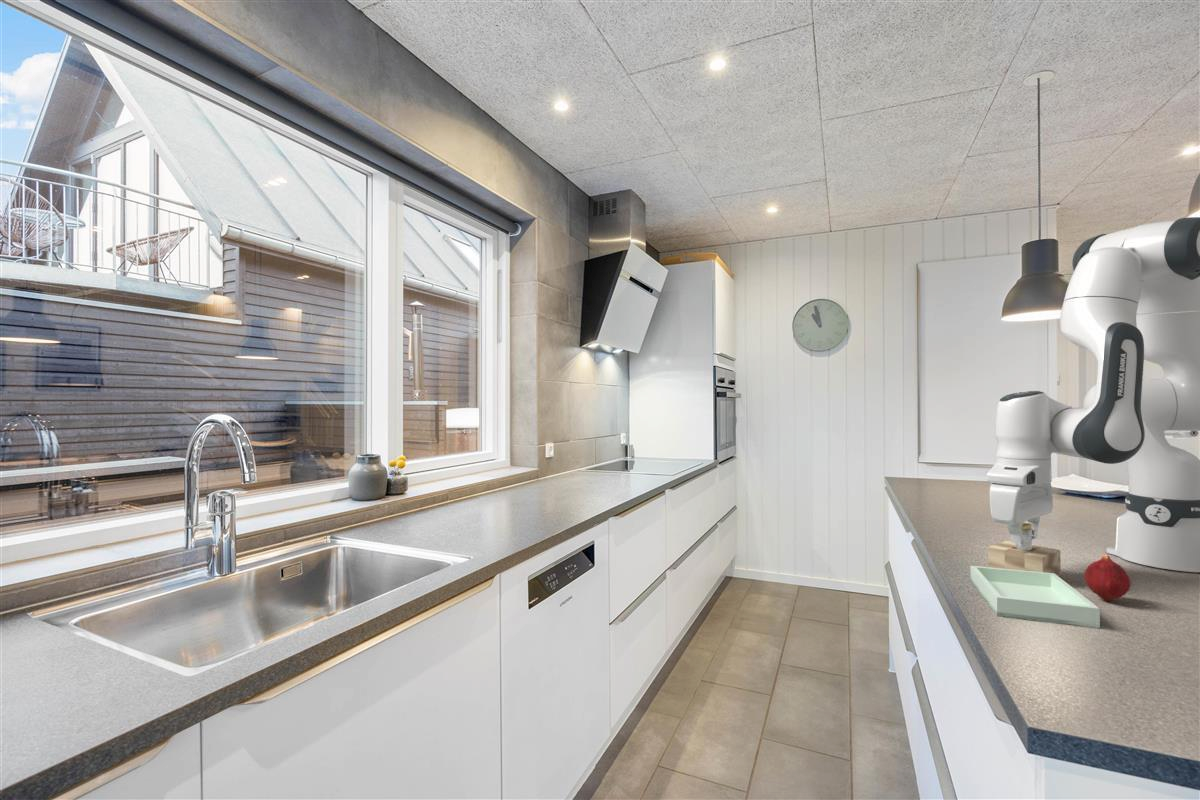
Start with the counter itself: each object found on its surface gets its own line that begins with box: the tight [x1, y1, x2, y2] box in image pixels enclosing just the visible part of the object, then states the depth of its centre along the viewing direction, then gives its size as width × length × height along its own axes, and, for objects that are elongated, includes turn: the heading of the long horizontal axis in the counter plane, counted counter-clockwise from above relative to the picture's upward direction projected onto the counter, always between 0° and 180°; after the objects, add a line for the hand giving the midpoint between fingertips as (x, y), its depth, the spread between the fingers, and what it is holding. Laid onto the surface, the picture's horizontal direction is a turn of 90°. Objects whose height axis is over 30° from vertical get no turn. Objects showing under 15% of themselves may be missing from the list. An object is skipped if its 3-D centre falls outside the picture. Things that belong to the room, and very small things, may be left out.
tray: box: [970, 565, 1101, 629], centre depth 93 cm, size 18×13×3 cm
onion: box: [1083, 553, 1132, 602], centre depth 93 cm, size 6×6×8 cm
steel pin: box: [1016, 522, 1033, 552], centre depth 108 cm, size 3×3×10 cm
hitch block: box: [987, 540, 1062, 577], centre depth 108 cm, size 9×9×5 cm
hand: (1024, 540), depth 108 cm, fingers open, 5 cm apart
